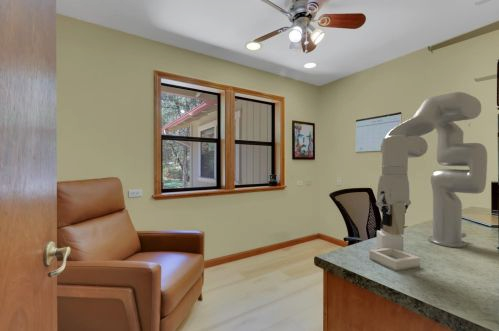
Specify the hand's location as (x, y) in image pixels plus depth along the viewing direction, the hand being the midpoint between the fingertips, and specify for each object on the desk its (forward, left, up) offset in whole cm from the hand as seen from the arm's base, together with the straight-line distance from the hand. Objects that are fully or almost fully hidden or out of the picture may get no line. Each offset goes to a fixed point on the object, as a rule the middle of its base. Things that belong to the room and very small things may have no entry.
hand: (393, 224), depth 82 cm
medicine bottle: (-8, -8, -14) cm, 18 cm away
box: (0, 0, -3) cm, 3 cm away
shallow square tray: (0, 0, -13) cm, 13 cm away
